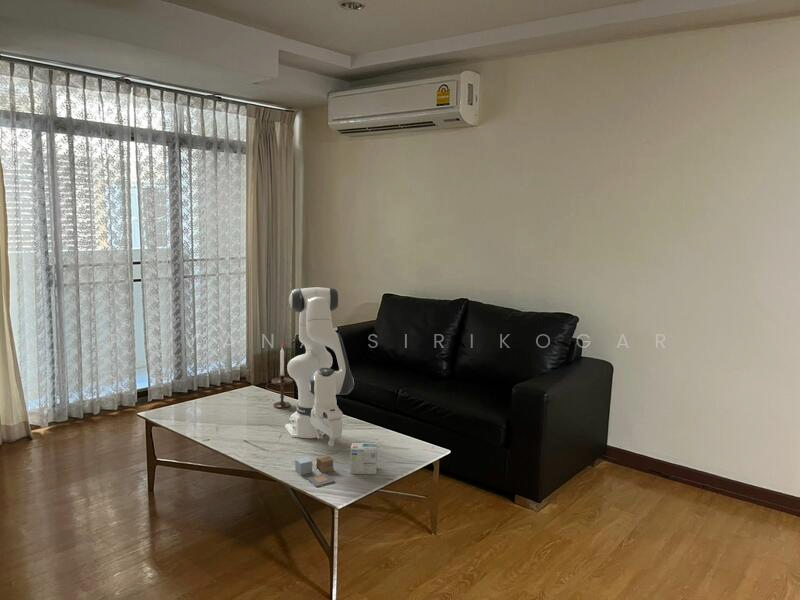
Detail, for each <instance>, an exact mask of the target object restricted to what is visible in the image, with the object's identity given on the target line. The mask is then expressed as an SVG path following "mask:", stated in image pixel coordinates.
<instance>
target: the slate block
mask: <svg viewBox="0 0 800 600" xmlns="http://www.w3.org/2000/svg"><path fill="white" fill-rule="evenodd" d="M294 465H295V467H294V471H295V472H296V473H297V474H298V473H299V474H298V475H299V476H304V475H303V474H305V475H307V474H306V473H309V474H311V473H310V472H312V473H313V460H312V459H310V458H309V457H308V456H303V457H300V458H296V459H294Z"/></svg>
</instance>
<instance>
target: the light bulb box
mask: <svg viewBox="0 0 800 600" xmlns="http://www.w3.org/2000/svg"><path fill="white" fill-rule="evenodd" d="M377 469H378V442H377V443H376V442H357V443H356V442H351V446H350V474H351V475H354V474H355V475H357V474H359V475H377V472H378V471H377Z"/></svg>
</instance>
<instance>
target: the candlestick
mask: <svg viewBox="0 0 800 600" xmlns="http://www.w3.org/2000/svg"><path fill="white" fill-rule="evenodd" d="M283 347H284V342H282V343H281V350H279V351H280V352H279V355H280V358H279V360H280V361H279V362H280V364H279V365H280V366H279V368H280V370H279V371H280V372H279V374H278V377H275V378H272V379H271V384H273V385H277V386H278V385H280V391H279V395H280V396H279V398H280V401H277V402H274V403H273V408H274V409H280V410H281V409H283V410H284V409H289V408H290V407H291V405H292V404H291V403H290V402H289V401H285V400H284V398H285V396H284V395H285V393H286V392H285V391H284V386H285V385H289V384H292V383H293V378H292V377H287V376H286V374H285V350H284V348H283Z"/></svg>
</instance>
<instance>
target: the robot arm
mask: <svg viewBox="0 0 800 600" xmlns="http://www.w3.org/2000/svg"><path fill="white" fill-rule="evenodd" d="M288 302H289V306H290V309H291V310H292V311H294V312H297V313H299V318H298V340H299V342H300V343H302V344H303V346H304V348H305V353H303V354H299V355H296V356H294V357H293V358H291V359H290V360H289V361H288V363H287V366H286V367H287V368H286V369H287V374H288V375H289V376H290V378H291V379H292V380H293V381H295V384H296V386H297V391H298V392H297V395H298V397H297V398H298V402H297V403H296V410H295V412H293V413H292V414H291V415H290V416H289V419H288V423H286V424H285V425H284V428H285V429H286V431H287V432H288V433H289V435H290V437H292V438H302V439H315V438H317V439H318V440H320V439H323V438H324V437H323V436H324V435H326V436H328V437H329V438H328V439H329V441H328V443H327V444H328V446H329V447H334V446H335V441H336V439H340V438H341V437H342V435H343V420H342V418H343V414H344V413H343V411H342V410H341V409H340V408H339V406H338V405H337V397H336V395H339V396H342V395H343V396H344V395H349V394H350V393H351V392H352V390H354V386H355V382H354V380H355V379H354V377H353V375H352V370H351V369H350V364H349V360H348V357H347V351H346V349H345V345H344V341H343V338H342V336H341V333H339V332H336V330H335V328H334V326H333V318H332V312H333V311H335V310H337V308H338V307H339V304H340V296H339V292H338V291H337V290H336V288H333V287H321V286H320V287H316V286H314V287H305V288H299V287H297V288H294V289H292V290H291V291H290V294H289V298H288ZM327 348H330V349H331V350H332V351H333V352H334V354H335V356H336V361H337V365H338V370H334V369H333V368H331V367H332V366H333V357H332V354H331V352H329V351H328V350H327Z"/></svg>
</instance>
